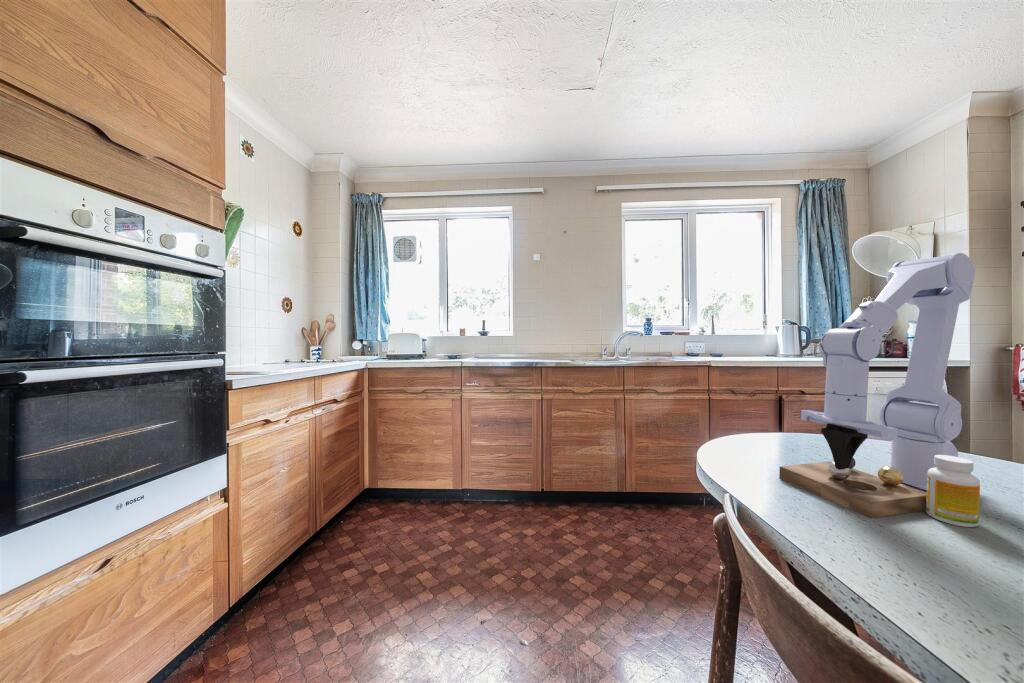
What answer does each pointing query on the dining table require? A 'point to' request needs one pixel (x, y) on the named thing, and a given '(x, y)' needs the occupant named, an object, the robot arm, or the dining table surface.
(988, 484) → the dining table surface
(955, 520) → the supplement bottle
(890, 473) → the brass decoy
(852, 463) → the gray ball
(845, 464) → the robot arm
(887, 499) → the brown wooden hole board
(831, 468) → the steel ball
